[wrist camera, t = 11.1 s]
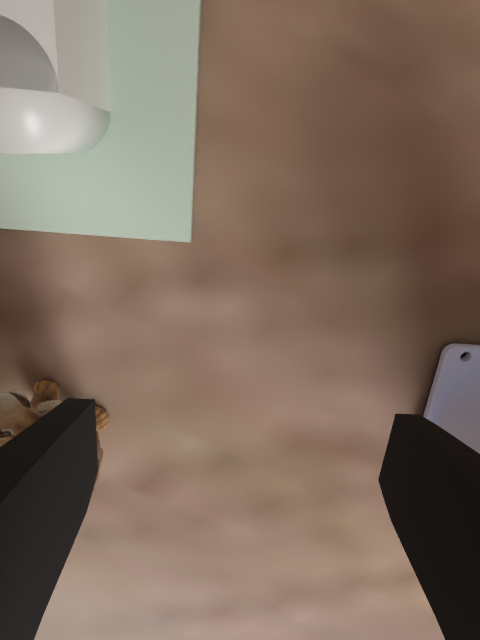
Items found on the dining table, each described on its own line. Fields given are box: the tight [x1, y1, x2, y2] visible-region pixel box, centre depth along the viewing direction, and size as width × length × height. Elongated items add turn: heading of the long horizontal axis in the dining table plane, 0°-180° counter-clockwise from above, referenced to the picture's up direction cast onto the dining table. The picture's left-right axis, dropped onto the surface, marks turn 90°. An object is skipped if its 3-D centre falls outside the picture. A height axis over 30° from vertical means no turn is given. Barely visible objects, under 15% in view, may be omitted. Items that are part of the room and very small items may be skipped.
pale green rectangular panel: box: [0, 0, 202, 242], centre depth 15 cm, size 9×12×1 cm
